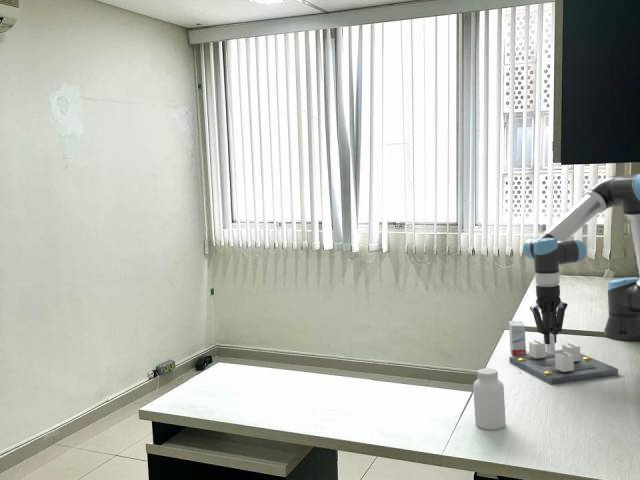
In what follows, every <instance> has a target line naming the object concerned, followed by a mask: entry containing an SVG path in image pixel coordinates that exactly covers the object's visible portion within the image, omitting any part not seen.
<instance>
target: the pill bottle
mask: <svg viewBox="0 0 640 480" xmlns="http://www.w3.org/2000/svg"><path fill="white" fill-rule="evenodd" d="M498 372H499V371H498V370H497V369H495V368H492V367H491V368H490V367H486V368H485V367H484V368H480V369H478V370H477V371H476V373H477V374H476V375H477V379H476V380H475V381H474V382H473V385H472V386H473V387H472V388H473V402H474V403H473V405H474V421H475V422H474V423H475V425H476V426H477V427H478V428H480V429H484V430H489V431H493V430H494V431H495V430H500V429H503V428H504V427H505V426H506V406H505V404H506V403H505V389H504V388H505V387H504V383H503V382H502V381H501V380H500V379H499V377H498V376H499V373H498Z"/></svg>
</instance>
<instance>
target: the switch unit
mask: <svg viewBox="0 0 640 480" xmlns="http://www.w3.org/2000/svg"><path fill="white" fill-rule="evenodd" d="M560 352H563V351H562V349H557V350H555V354H556V353H560ZM555 354H549V353H547V351H546V357H544V358H537V359H535V358H533V357H531V356H530V354H527V353H526V355H520V356H513V355H512V356H509V359H508V361H509V364H512V365H514V366H516V367H517V368H518V369H521V370H523V371H525V372H527V373H529V374H531V375H532V376H535V378H536V377H537V378H538V379H540V380H541V381H543V382H544V383H545V382H546V383H547V384H549V385H552V386H553V385H559V384H566V383H567V384H568V383H573V382H580V381H586V380H587V381H588V380H594V379H600V378H607V377H613V376H619V368H617V367H616V366H615V367H614V366H612V365H609V364H607V363H605V362H603V361H600V360H597V359H596V358H592V357H591V356H588V355H586V354H583V353H581V352H580V361H574V370H573V371H566V372H562V371H560V370H558V369H556V368H555Z"/></svg>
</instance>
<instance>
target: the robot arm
mask: <svg viewBox="0 0 640 480" xmlns="http://www.w3.org/2000/svg"><path fill="white" fill-rule="evenodd" d="M612 207H613V208H615V207H622V213H623V215H625V216H626V217H628V219H629V225H630V229H631V230H630V231H631V236H632V242H633V247H634V251H635V258H636V264H637V269H638V270H637V271H638V274H639V275H638V276H639V277H637V276H636V277H635V276H634V277H621V278H614V279H611V280H609V281H608V285H607V301H608V302H607V303H608V304H607V305H608V318H607V321H606V324H605V327H604V329H603V330H604V331H603V332H604V336H605V337H607V338H608V339H611V340H617V341H618V340H619V341H640V173H634V174H632V173H631V174H618V175H617V174H616V175H612V176H608V177H606V178H604V179H602V180H601V181H599V182H596V184H593V186H591V188H589V189H588V190H586V191H585V192H584V194H582V198H581V200H579V201H578V202H577V203H576V204H575V205H573V206H572V207H571V208H570V209H569V210H568V211H566V213H564V215H562V216H561V217H560V218H559V219H558V220H556V221H555V222H554V223H553V224H552V225H551V226H549V227H548V228H547V229H546V230H545V231H544V232H543V233H542V234H541V235H539V236H538V237H537V238H534V237H533V238H529V239H528V238H527V240H525V241H524V243H523V245H522V246H523V247H522V251H523V255H524V256H525V257H526V258H528V259H529V260H530V259H531V260H534V270H535V271H534V272H535V284H536V285H535V295H536V300H535V304H534V305H533V306H530V307H529V310H530V312H532V314H533V318H534V322H535V325H536V328H537V332H538V333H540V334H542V335H543V342H544V343H545V344H546V352H547V353H549V354H555V351H556V345H555V344H557V335H559V332H560V333H561V332H562V331H563V325H564V324H563V323H564V320H565V319H564V318H565V314H566V309H567V308H568V303H567V302H563V301H562V299H561V289H560V288H561V286H560V285H559V284H560V283H561V281H560V280H561V279H560V265H561V266H562V265H566V264H567V265H568V264H573V263H578V262H581V261H583V260H585V258H586V257H587V253H588V252H587V251H588V249H587V246H586V245H585V243H584V242H583V240H582V241H581V240H579V239H571V240H569V239H570V238H572V237H573V235H575V234H576V233H577V232H578V231H579V230H580V229H582V228H583V227H584V226H585V225H586V224H587V223H588V222H589V221H591V220H592V219H593V218H594V217H595V216H596V215H598V214H601V213H604V212H605V211H606V210H607V209H610V208H612Z"/></svg>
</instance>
